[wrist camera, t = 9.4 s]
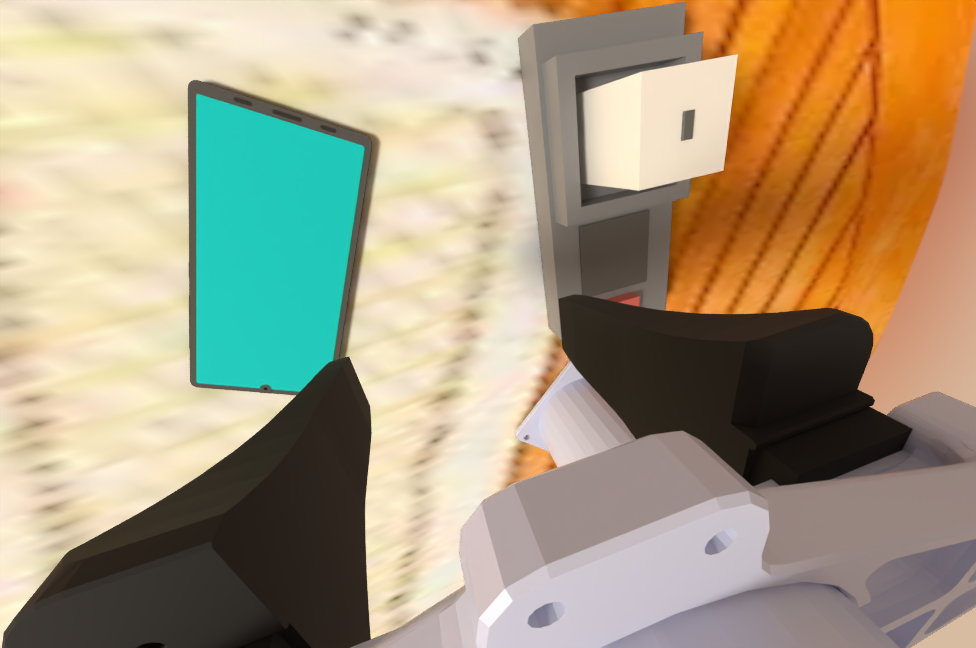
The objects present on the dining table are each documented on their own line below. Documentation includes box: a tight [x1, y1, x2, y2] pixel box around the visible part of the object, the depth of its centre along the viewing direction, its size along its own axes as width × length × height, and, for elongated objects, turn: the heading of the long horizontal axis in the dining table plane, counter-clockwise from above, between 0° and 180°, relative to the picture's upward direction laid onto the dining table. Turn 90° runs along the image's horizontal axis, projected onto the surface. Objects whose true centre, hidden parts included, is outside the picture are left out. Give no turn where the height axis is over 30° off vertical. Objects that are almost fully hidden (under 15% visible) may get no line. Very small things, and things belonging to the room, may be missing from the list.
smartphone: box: [188, 80, 372, 395], centre depth 18 cm, size 7×1×15 cm
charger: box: [576, 54, 738, 191], centre depth 16 cm, size 4×4×5 cm
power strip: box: [518, 2, 703, 340], centre depth 20 cm, size 20×8×4 cm, turn 11°
